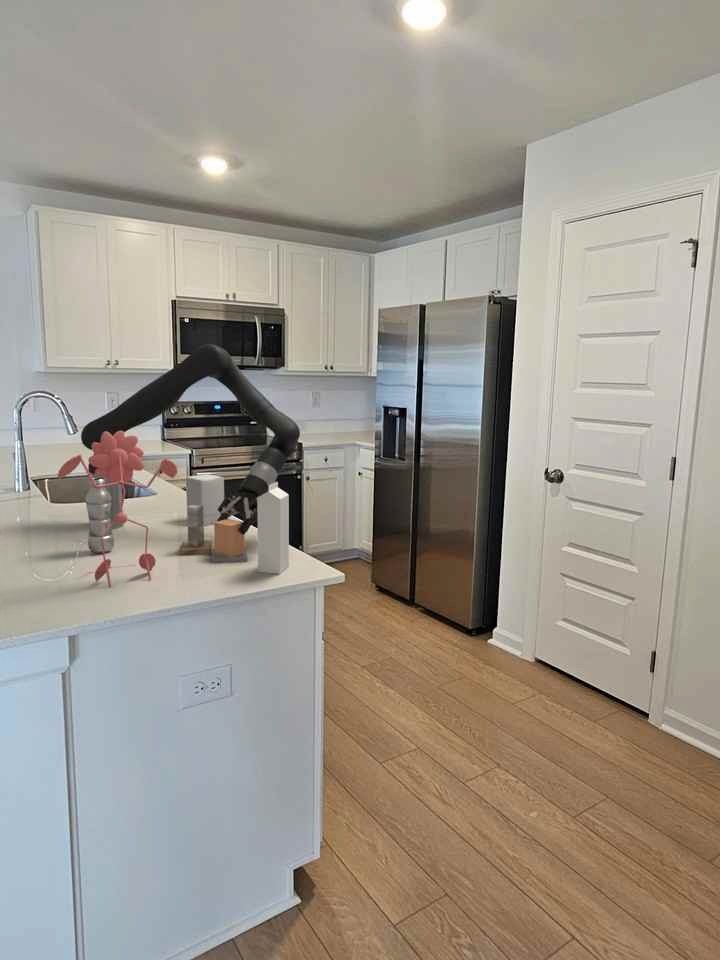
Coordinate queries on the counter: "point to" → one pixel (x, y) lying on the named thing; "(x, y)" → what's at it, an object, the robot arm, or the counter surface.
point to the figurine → (118, 481)
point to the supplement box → (206, 495)
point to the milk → (273, 530)
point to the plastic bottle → (99, 517)
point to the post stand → (195, 533)
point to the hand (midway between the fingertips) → (229, 530)
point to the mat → (228, 559)
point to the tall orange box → (228, 538)
